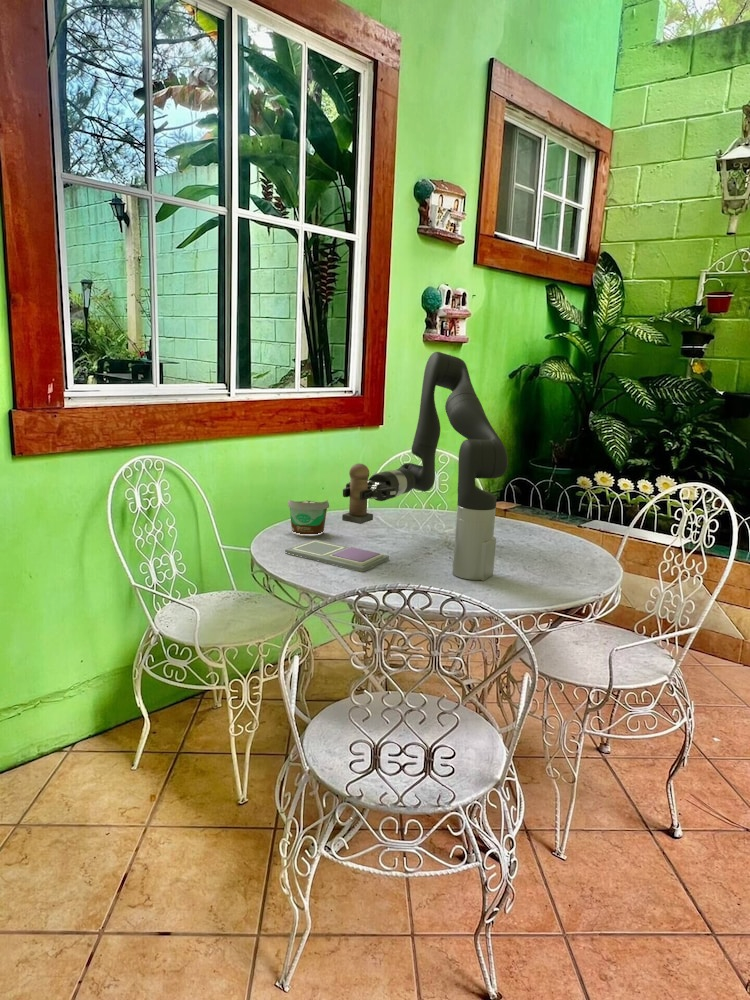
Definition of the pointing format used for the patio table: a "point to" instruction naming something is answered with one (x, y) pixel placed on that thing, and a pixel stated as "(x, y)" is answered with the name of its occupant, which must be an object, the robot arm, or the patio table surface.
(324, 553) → the stamping board
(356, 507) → the stamp
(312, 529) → the food container
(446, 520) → the patio table surface
